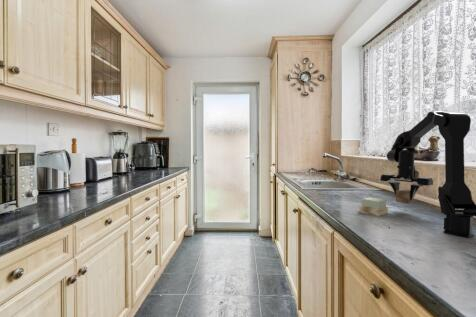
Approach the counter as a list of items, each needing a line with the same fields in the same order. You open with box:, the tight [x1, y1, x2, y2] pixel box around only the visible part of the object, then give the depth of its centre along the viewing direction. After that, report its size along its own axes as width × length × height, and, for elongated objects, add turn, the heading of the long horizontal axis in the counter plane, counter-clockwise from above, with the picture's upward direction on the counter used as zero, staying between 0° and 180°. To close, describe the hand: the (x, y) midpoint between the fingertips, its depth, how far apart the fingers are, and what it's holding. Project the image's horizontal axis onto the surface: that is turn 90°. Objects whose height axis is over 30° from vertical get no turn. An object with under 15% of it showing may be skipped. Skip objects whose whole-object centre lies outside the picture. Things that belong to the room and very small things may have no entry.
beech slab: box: [358, 204, 389, 217], centre depth 115 cm, size 8×8×3 cm
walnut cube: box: [395, 188, 415, 204], centre depth 117 cm, size 5×5×5 cm
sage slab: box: [361, 196, 387, 209], centre depth 116 cm, size 7×7×3 cm
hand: (404, 199), depth 117 cm, fingers closed on walnut cube, 5 cm apart
